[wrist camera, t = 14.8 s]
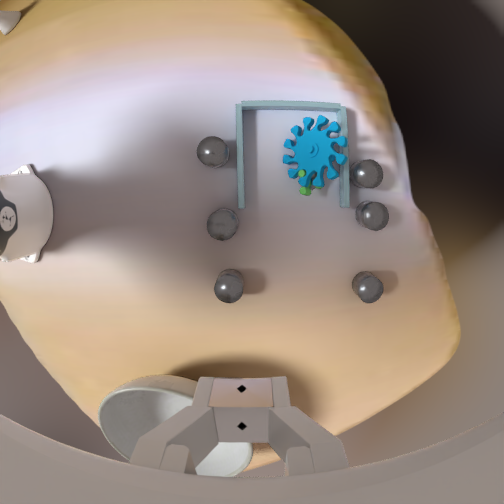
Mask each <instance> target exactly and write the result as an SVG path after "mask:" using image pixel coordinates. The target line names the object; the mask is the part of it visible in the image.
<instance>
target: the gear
mask: <svg viewBox="0 0 504 504" xmlns="http://www.w3.org/2000/svg"><path fill="white" fill-rule="evenodd" d="M328 122H329V120H328V119H327V118H325V117H324V116H322V115H319V116H318V118H317V123H316V125H315V127H314V128H313V129H312V130H311V131H310V128H311V126H312V125H313V124H314V119H312V118H310V117H306V118H304V119H303V123H304V132H303V135H302V136H301V132H302V128H301V127H299V126H297V125H296V126H294V127H293V128H292V129H291V132H292V133H293V134H294V135H295V137H296V140H297V144H296V146H294V142H293V141H292V140H290V139H287V140H286V141H285V143H284V147H286V148H289V149H292V150H293V151H294V153H295V156H294V158H292V156H290V155H284V157H283V163H285V164H291V163H294V162H297V163H298V168H297V169H292V168H291V169H289V170H288V174H289V177H290V178H293V179H295V178H297V176H298V175H299V177H301V178H300V179H299V180H298V182H299V184H300V185H302V186H303V187H301V188H300V190H299V191H300V194H302V195H310V194H311V190H313V189H314V188H319V189H321V188H322V187H324V180H323V173H324V169H325V168H326V167H328V171H327V178H328V179H331V180H333V179H336V178H337V177H339V173H338V172H337V171H336V170H335V169H334V167H333V165H332V162H333V161H334V160H335V157H336V162H337V163H338V164H341V165H344V164H345V163H346V161H347V159H348V157H347V156H345V155H343V154H339V153H337V152H336V151H335V150H334V144H336V143H337V144H338V145H340V146H342V147H347V144H348V139H347V138H346V137H344V136H340V137H338V138H330V137H329V135H330V133H331V132H336V133H338V132H340V131H341V127H340V125H339V124H338V123H337V122H335V121H334V122H332V123H331V124H330V126H329V127H328V128H327V129H325V130H322V131H321V127H322V126H324V125H327V124H328Z"/></svg>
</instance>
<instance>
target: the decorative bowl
mask: <svg viewBox="0 0 504 504" xmlns="http://www.w3.org/2000/svg"><path fill="white" fill-rule="evenodd" d="M197 384H198V382H197V381H194V380H191V379H188V378H184V377H179V376H172V375H153V376H146V377H142V378H138V379H135V380H132V381H130V382H127V383H125V384H123V385H121V386H119V387H118V388H116V389H115V390H113V391H112V392H110V393H109V394H108V395H107V396H106V397H105V398H104V399H103V400H102V402H101V404H100V406H99V410H98V420H99V425H100V427H101V430H102V432H103V433H104V436H105V437H106V439H107V440H108V441H109V442H110V444H111V445H112V446H113V447H114V449H116V450H117V451H118V452H119V453H120V454H121V455H122V456H123V457H125V458H126V459H127V460H130V458H131V456H132V453H133V451H134V449H135V446H136V444H137V441H138V439H139V438H140V437H141V436H143V435H144V434H146V433H148V432H149V431H151V430H152V429H154V428H155V427H157V426H158V425H160V424H161V423H163V422H164V421H166V420H167V419H169V418H170V417H172V416H173V415H175V414H176V413H177V412H179V411H180V410H182V409H183V408H185V407H186V406H191V405H192V402H193V398H194V394H195V391H196V387H197ZM218 443H219V444H218V445H217V446H216V447H215V448H214V449H213V450H212V451H211V452H210V453H209V454H208V456H207V457H206V458H205V459H204V460H203V461H202V462H201V463H200V464H199V465H198V466H197V467H196V468H195V469H196V472H197V475H206V476H222V477H234V476H236V475H238V474H239V473H241V472H242V471H243V470H244V469H245V468H246V467H247V466H248V465H249V463H250V462H251V459H252V456H253V444H252V443H246V442H237V443H228V442H218Z"/></svg>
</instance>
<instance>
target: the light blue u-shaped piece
mask: <svg viewBox="0 0 504 504" xmlns="http://www.w3.org/2000/svg"><path fill="white" fill-rule="evenodd" d="M268 109H278V110H313V111H330V112H337V119H338V124H339V125H340V127H341V131H340V132H338V135H339V137H340V136H344V137H346V138H347V139H348V130H347V115H346V107H344V106H341V105H340V104H338V103H326V102H310V101H242V104H236V138H237V177H238V208H245V196H244V159H243V119H242V110H268ZM339 154H343V155H345V156H347V157H348V159H347V161H346V163H345V164H344V165H341V164H340V207H344V208H349V149H348V144H347V147H342V146H340V145H339Z"/></svg>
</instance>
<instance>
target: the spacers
mask: <svg viewBox="0 0 504 504" xmlns="http://www.w3.org/2000/svg"><path fill="white" fill-rule="evenodd" d="M197 156H198V158H199V160H200V161H201V162H202V163H203V164H205V165H207V166H210V167H213V168H216V167H220V166H222V165H224V164H225V163H226V162H227V160H228V158H229V149H228V147H227V145H226V144H225V143H224V141H223V140H222V139H220V138H218V137H214V136H211V137H207V138H205V139H203V140H202V141H201V142H200V143H199V145H198V147H197ZM349 175H350V179H351V181H352V183H353V184H354V185H355V186H357V187H360V188H374V187H377V186H378V185H379V184H380V183H381V181H382V179H383V171H382V168H381V166H380V165H379V164H378V163H377V162H376V161H374V160H363V161H359V162H356V163H354V164H353V165H352V166H351V168H350V172H349ZM356 219H357V221H358V223H359V224H360V225H361V226H363V227H366V228H368V229H371V230H374V231H378V230H381V229H383V228H384V227H385V226H386V224H387V223H388V219H389V214H388V210H387V208H386V207H385V206H384V205H383V204H381V203H377V202H371V201H365V202H362V203H361V204H360V205H359V206H358V207H357V209H356ZM237 227H238V218H237V216H236V214H235V213H234V212H233V211H231V210H229V209H220V210H218V211H216V212H214V213H213V214H212V215H211V216H210V217H209V219H208V221H207V230H208V232H209V234H210V235H211V236H212V237H213V238H214V239H217V240H222V241H223V240H227V239H229V238H231V237H232V236H233V235H234V234H235V232H236V229H237ZM243 285H244V280H243V277H242V275H241V274H240V273H239V272H238V271H236V270H233V269H227V270H224V271H223V272H221V273H220V275H219V277H218V279H217V281H216V284H215V287H214V291H215V294H216V296H217V298H218V299H219V300H221V301H222V302H225V303H233V302H236V301H237V300H239V299H240V297H241V296H242V293H243ZM352 288H353V290H354V292H355V293H356V294H357V295H358V296H359V297H360V299H361V300H362V301H363V302H365V303H373V302H375V301H377V300H378V299H379V298H380V297H381V295H382V293H383V284H382V282H381V281H380V280H379V279H377V278H376V277H375V276H374V275H372V274H371V273H370V272H367V271H364V272H360V273H358V274H357V275H356V276H355V277H354V279H353V282H352Z"/></svg>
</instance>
